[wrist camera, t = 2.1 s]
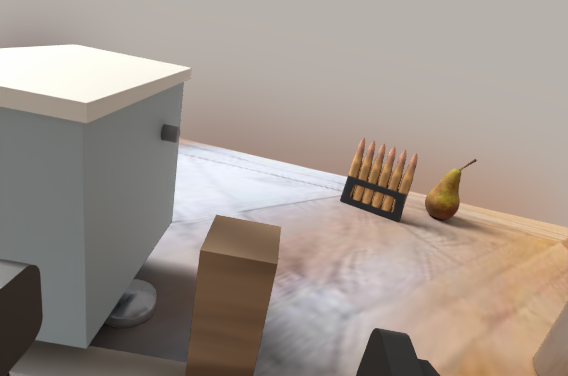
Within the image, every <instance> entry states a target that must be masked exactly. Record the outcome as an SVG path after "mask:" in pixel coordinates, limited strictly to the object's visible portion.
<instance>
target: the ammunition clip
mask: <svg viewBox="0 0 568 376" xmlns="http://www.w3.org/2000/svg"><path fill="white" fill-rule="evenodd" d="M364 147H365V138H363V139H362V140H361V142H360V144H359V146H358V149H357V152H356V155H355V157H354V159H353V162H352V165H351V169H350V172H349V176H348V178H347V181H346V184H345V187H344V190H343V193H342V196H341V199H340V201H341V202H343V203H346V204H349V205H352V206H354V207H357V208H360V209H363V210H365V211H368V212H371V213H374V214H376V215H379V216H382V217H385V218H388V219H390V220H393V221H396V222H399V221H400V218H401V215H402V211H403V208H404V204H405V201H406V198H407V195H408V192H409V190H410V186H411V184H412V181H413V175H414V171H415V168H416V164H417V154H415V155H414V156H413V157H412V159H411V161H410V163H409V165H408V168H407V170H406V173H405V174H404V176H403V179H402V181H401V178H402V172H403V169H404V165H405V161H406V150H404V151H403V153H402V154H401V156H400V158H399V160H398V162H397V165H396V168H395V170H394V172H393V173H392V166H393V162H394V159H395V147H393V148H392V150H391V151H390V153H389V155H388V157H387V161H386V163H385V165H384V168H383V169H382V172H381V168H382V163H383V158H384V154H385V144H383V145H382V146H381V148H380V150H379V152H378V154H377V157H376V159H375V163H374V164H373V166H372V159H373V155H374V150H375V141H373V142H372V143H371V145H370V147H369V149H368V151H367V154H366V157H365V160H364V162H363V164H362V157H363V153H364ZM361 164H362V167H361ZM371 166H372V169H371ZM360 167H361V170H360ZM370 170H371V172H370ZM359 171H360V174H359ZM369 173H370V175H369ZM380 173H381V175H380ZM391 173H392V177H391V179H390V176H391ZM358 175H359V176H358ZM379 176H380V179H379ZM368 177H369V179H368ZM378 179H379V181H378ZM389 179H390V182H389ZM400 181H401V184H400ZM388 182H389V185H388ZM399 184H400V187H399ZM355 186H356V187H355ZM398 187H399V189H398ZM365 188H366V189H365ZM354 189H355V191H354ZM364 190H365V192H364ZM374 192H375V194H374ZM353 193H354V194H353ZM363 194H364V195H363ZM384 195H385V197H384ZM373 196H374V197H373ZM362 197H363V198H362ZM383 198H384V200H383ZM372 199H373V200H372ZM394 199H395V202H394ZM382 202H383V203H382ZM393 202H394V204H393ZM392 205H393V207H392Z"/></svg>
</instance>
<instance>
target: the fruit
mask: <svg viewBox="0 0 568 376" xmlns="http://www.w3.org/2000/svg"><path fill="white" fill-rule="evenodd" d="M474 162H476V159H475V160H473V161H472V162H470V163H468V164H467V165H466V166H464V167H462V168H461V169H454V170H451V171H450V172H449V173H447V174H446V176H445V177H444V178H443V179H442V180H441V181H440V182H439V184H438V185H437V186H436V187H435V188H434V189H433V190H432V191H430V193H429V194H428V195H427V197H426V200H425V206H426V210H427V211H428V213H429V214H430V215H431V216H433V217H435V218H438V219H442V220H444V219H448V218H450V217H452V216H453V215H454V214H455V213H456V212H457V210H458V208H459V195H458V189H459V183H460V176H461V170H462V169H463V168H465V167H467V166H468V165H470V164H472V163H474Z"/></svg>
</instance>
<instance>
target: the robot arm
mask: <svg viewBox="0 0 568 376" xmlns="http://www.w3.org/2000/svg"><path fill="white" fill-rule="evenodd" d="M42 320H43V311H42V294H41V277H40V270H39V268H38V267H37V266H36V265H33V264H27V263H22V262H16V261H11V260H5V259H0V376H5V375H6V374H7V372H8V371H9V370H10V369H11V368H12V367H13V366H14V364H15V363H16V362H17V361H18V360H19V359H20V357H21V356H22V355H23V354H24V353H25V352H26V351H27V349H28V348H29V347H30V346H31V345H32V343H33V342H34V340H35V339H36V337H37V335H38V333H39V331H40V328H41V325H42ZM533 363H534V367H535V370H536V373H537V374H538V376H568V302H567V303H566V305H565V306H564V308H563V310H562V311H561V313H560V315H559V316H558V318H557V320H556V321H555V323H554V325H553V326H552V328H551V329H550V331H549V333H548V334H547V336H546V338H545V339H544V341H543V343H542V344H541V346H540V348H539V349H538V351H537V353H536V354H535V356H534V358H533ZM356 376H440V375H439V374H438V373H437V371H436V370H435V369H434V368H433V366H432V365H431V364H430V363H429V362H428V361H427V360H421V359H418V358H417V355H416V353H415V350H414V347H413V345H412V342H411V339H410V337H409V336H408V335H407V334H406V333H401V332H395V331H390V330H384V329H379V328H375V329H374V330H373V331H372V333H371V336H370V338H369V341H368V344H367V346H366V349H365V352H364V355H363V357H362V360H361V363H360V366H359V368H358V371H357V374H356Z"/></svg>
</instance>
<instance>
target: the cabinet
mask: <svg viewBox="0 0 568 376" xmlns="http://www.w3.org/2000/svg"><path fill="white" fill-rule="evenodd" d="M191 70H192V68H188V67H184V66H179V65H174V64H169V63H164V62H159V61H154V60H149V59H144V58H139V57H134V56H129V55H124V54H119V53H114V52H110V51H104V50H100V49H95V48H90V47H84V46H80V45H58V46H40V47H22V48H3V49H0V259H5V260H11V261H16V262H22V263H27V264H33V265H36V266H37V267H38V268H39V270H40V277H41V294H42V311H43V320H42V325H41V328H40V331H39V333H38V335H37V337H36V339H35V340H34V342H35V341H36V340H39V341H45V342H51V343H56V344H62V345H68V346H74V347H80V348H86V349H87V347H88V346H89V344H90V343H91V341H92V340H93V338H94V337H95V335H96V334H97V332H98V331H99V329H100V328H101V326H102V325H103V323H104V322H105V320H106V319H107V317H108V316H109V314H110V313H111V311H112V310H113V308H114V307H115V306H116V304H117V303H118V301H119V300H120V298H121V297H122V295H123V294H124V292H125V291H126V289H127V288H128V286H129V285H130V283H131V282H132V280H133V279H134V277H135V276H136V274H137V273H138V271H139V270H140V268H141V267H142V265H143V264H144V262H145V261H146V259H147V258H148V256H149V255H150V253H151V252H152V250H153V249H154V248H155V246H156V245H157V243H158V242H159V240H160V239H161V237H162V236H163V234H164V233H165V231H166V230H167V228H168V227H169V225H170V224H171V222H172V216H173V204H174V192H175V180H176V168H177V156H178V144H179V135H180V121H181V108H182V96H183V84H184V81H187V80H189V79H191ZM34 342H33V343H34ZM33 343H32V344H33ZM31 346H32V345H31ZM31 346H30V347H31ZM30 347H29V348H30ZM29 348H28V349H29ZM28 349H27V350H28ZM25 353H26V352H25ZM25 353H24V354H25ZM24 354H23V355H24ZM23 355H22V356H23ZM22 356H21V357H22ZM21 357H20V358H21ZM19 360H20V359H19ZM19 360H18V361H19ZM18 361H17V362H18ZM17 362H16V363H17ZM16 363H15V364H16ZM15 364H14V365H15ZM13 367H14V366H13ZM13 367H12V368H13ZM12 368H11V369H12ZM11 369H10V370H11ZM10 370H9V371H10ZM9 371H8V372H7V374H8V373H9ZM7 374H6V375H5V376H7Z"/></svg>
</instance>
